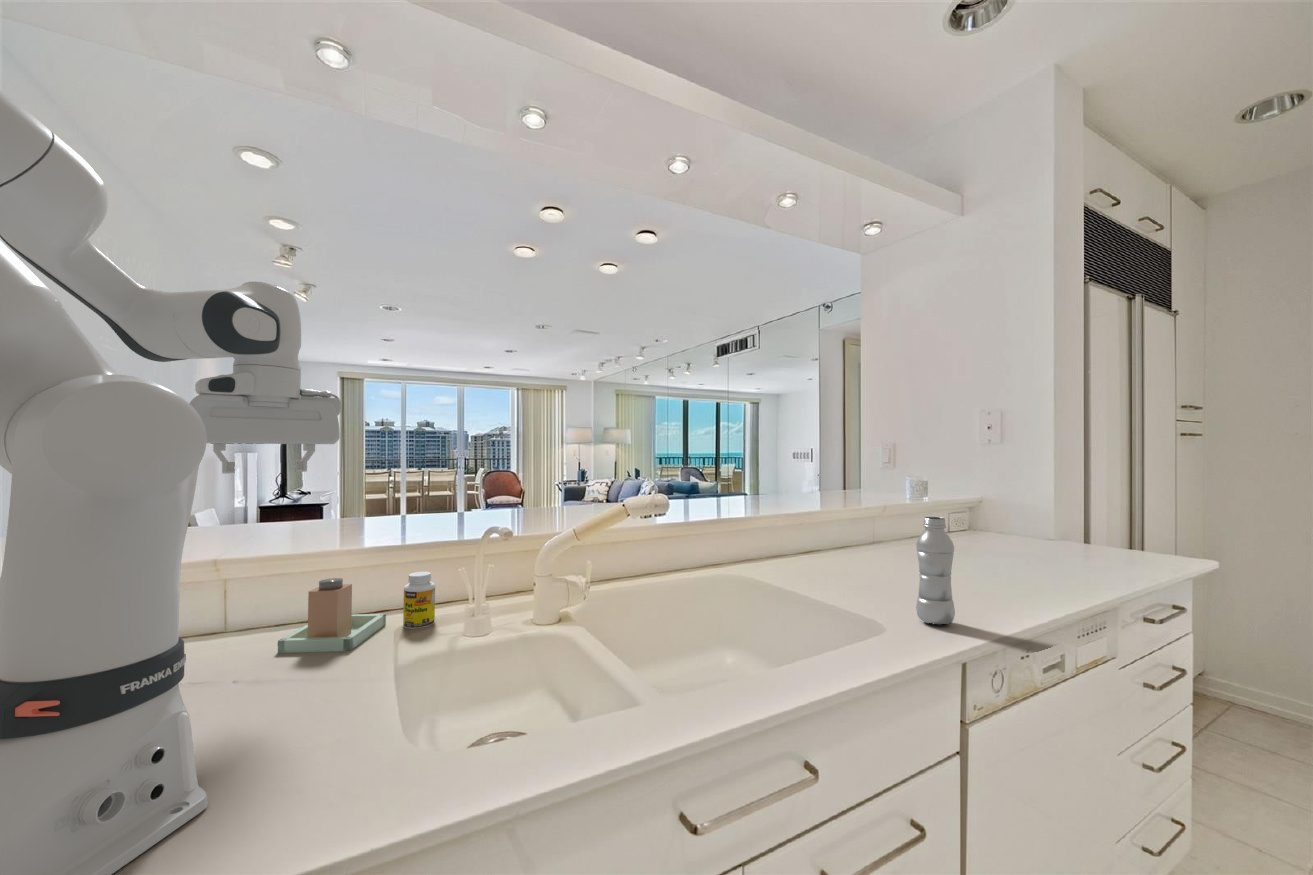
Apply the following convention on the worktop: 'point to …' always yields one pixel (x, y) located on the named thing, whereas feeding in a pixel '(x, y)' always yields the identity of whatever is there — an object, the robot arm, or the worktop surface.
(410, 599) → the supplement bottle
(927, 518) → the plastic bottle
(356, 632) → the tray
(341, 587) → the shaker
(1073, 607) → the worktop surface
